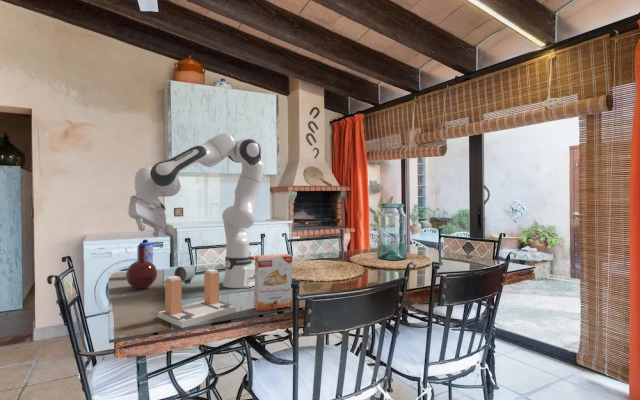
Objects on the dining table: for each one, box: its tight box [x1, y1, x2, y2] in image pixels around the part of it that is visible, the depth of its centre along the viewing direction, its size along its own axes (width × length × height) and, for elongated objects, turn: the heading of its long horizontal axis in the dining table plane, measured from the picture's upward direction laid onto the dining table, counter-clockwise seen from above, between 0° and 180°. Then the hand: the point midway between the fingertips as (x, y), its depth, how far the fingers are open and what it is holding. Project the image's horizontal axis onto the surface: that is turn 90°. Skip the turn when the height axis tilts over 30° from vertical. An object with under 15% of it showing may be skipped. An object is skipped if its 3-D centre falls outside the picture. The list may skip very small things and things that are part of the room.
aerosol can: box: [136, 239, 154, 264], centre depth 195 cm, size 8×8×20 cm
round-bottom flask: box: [125, 245, 158, 290], centre depth 172 cm, size 13×13×20 cm
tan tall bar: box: [203, 268, 220, 305], centre depth 144 cm, size 4×4×13 cm
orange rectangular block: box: [164, 275, 183, 315], centre depth 131 cm, size 4×4×13 cm
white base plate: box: [157, 300, 236, 329], centre depth 136 cm, size 22×16×3 cm
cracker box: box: [253, 253, 293, 312], centre depth 145 cm, size 14×6×21 cm, turn 114°
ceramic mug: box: [173, 264, 196, 282], centre depth 190 cm, size 11×8×8 cm
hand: (149, 233), depth 149 cm, fingers open, 8 cm apart
